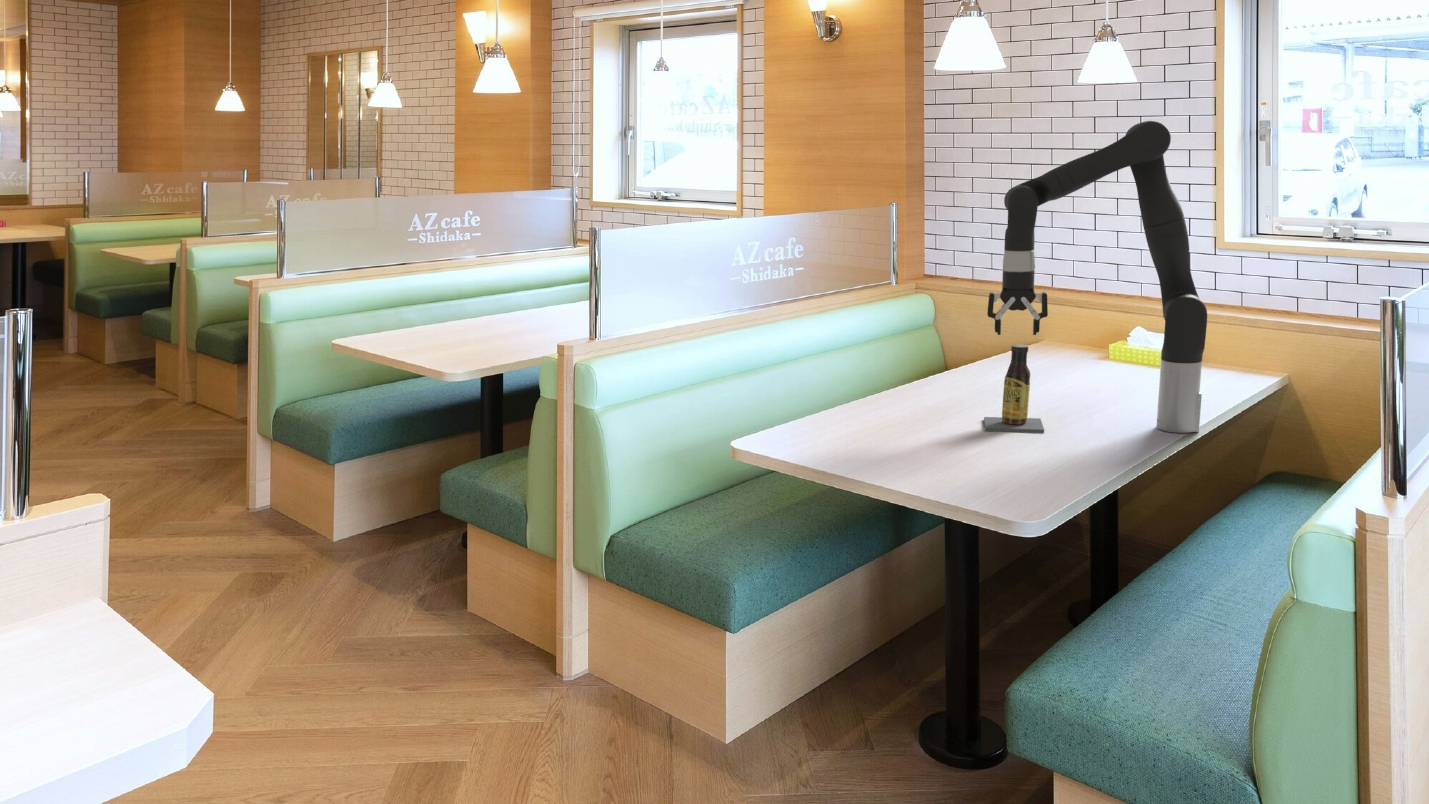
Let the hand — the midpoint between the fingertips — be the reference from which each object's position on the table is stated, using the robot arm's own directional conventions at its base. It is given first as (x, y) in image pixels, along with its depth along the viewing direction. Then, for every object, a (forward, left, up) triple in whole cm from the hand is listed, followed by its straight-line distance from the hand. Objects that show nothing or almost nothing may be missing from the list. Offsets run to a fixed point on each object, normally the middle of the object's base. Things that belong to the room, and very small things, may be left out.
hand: (1016, 334), depth 271 cm
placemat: (0, 0, -23) cm, 23 cm away
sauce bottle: (0, 0, -23) cm, 23 cm away
